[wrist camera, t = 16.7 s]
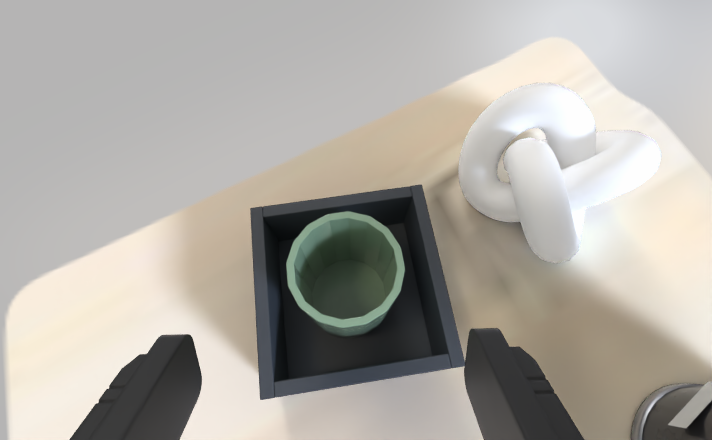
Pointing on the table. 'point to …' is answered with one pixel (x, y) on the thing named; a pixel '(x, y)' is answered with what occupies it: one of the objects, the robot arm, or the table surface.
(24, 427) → the table surface
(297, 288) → the cup
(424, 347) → the tub
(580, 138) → the white knot sculpture
